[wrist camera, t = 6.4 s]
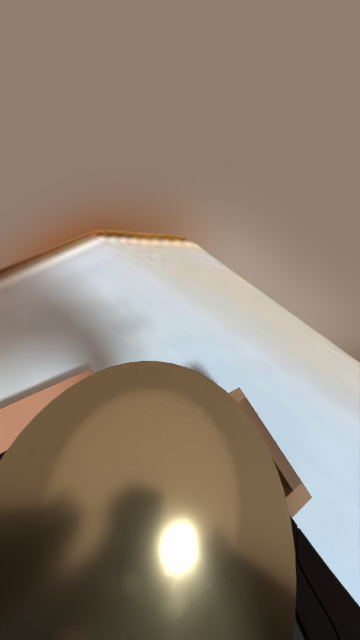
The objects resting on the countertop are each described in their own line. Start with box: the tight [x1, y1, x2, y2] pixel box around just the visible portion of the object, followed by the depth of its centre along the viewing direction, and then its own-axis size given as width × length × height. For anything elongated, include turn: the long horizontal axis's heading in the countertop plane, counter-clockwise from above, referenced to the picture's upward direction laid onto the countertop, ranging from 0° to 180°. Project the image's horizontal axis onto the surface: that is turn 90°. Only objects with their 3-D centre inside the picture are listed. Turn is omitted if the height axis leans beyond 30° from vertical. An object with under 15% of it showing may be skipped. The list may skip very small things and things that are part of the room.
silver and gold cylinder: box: [0, 361, 296, 640], centre depth 7 cm, size 5×5×9 cm
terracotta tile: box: [0, 369, 93, 454], centre depth 17 cm, size 10×10×1 cm
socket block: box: [228, 388, 312, 517], centre depth 16 cm, size 9×9×4 cm
